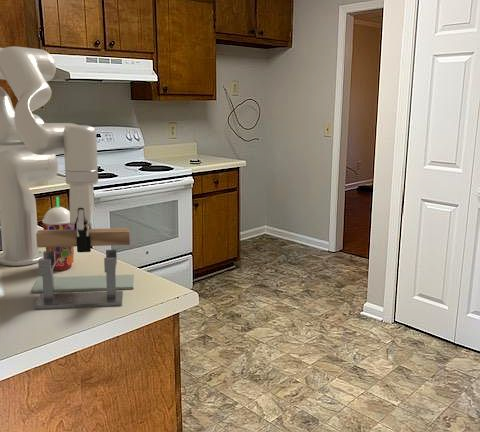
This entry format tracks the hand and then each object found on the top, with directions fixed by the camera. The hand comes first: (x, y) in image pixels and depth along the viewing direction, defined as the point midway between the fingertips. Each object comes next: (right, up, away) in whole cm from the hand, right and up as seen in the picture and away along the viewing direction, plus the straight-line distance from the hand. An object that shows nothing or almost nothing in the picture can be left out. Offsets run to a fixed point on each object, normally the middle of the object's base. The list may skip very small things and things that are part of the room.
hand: (84, 248), depth 124 cm
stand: (+2, -12, -8) cm, 14 cm away
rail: (0, +1, 0) cm, 1 cm away
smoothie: (-11, -6, +14) cm, 19 cm away
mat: (-1, -9, +2) cm, 10 cm away
